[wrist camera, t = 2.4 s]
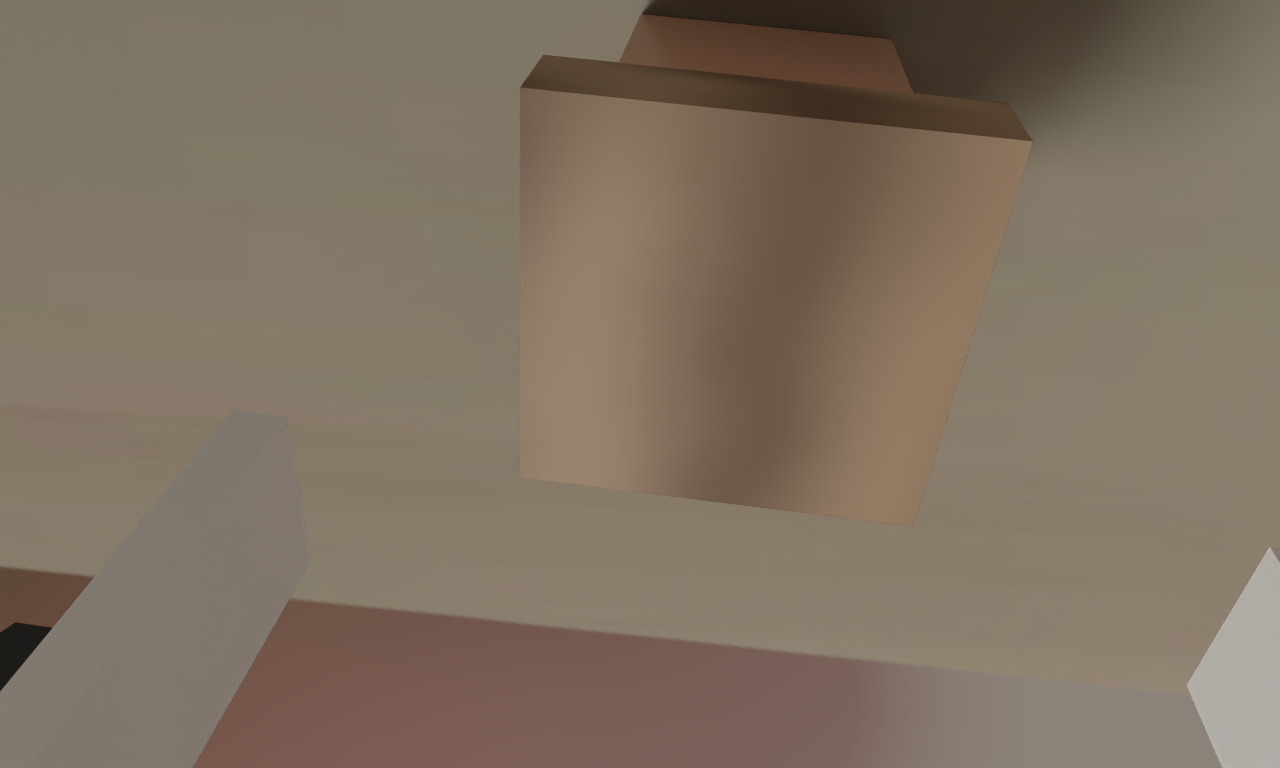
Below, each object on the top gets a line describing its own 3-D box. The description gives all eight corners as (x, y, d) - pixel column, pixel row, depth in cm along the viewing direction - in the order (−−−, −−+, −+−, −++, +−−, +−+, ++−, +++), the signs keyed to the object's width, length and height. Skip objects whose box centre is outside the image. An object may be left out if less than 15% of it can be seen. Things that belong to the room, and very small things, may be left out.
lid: (538, 422, 22) (520, 477, 21) (543, 54, 18) (520, 87, 16) (902, 467, 22) (913, 526, 20) (1007, 102, 17) (1032, 141, 15)
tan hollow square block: (625, 240, 28) (582, 392, 22) (641, 13, 25) (594, 114, 18) (843, 264, 28) (867, 426, 21) (891, 39, 24) (937, 150, 18)
